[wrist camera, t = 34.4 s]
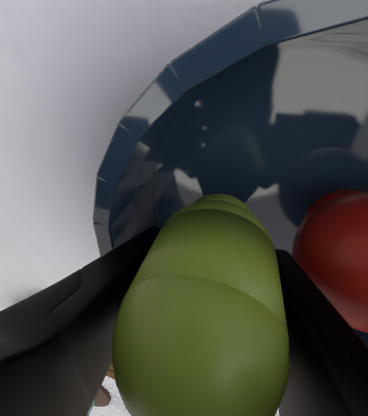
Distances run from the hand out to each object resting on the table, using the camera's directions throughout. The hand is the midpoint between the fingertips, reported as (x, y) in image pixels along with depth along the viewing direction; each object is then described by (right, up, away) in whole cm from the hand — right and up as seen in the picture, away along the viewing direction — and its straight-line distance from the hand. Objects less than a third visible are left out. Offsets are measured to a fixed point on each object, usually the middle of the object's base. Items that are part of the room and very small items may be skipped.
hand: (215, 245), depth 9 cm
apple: (+6, +1, +2) cm, 6 cm away
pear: (0, +1, +1) cm, 2 cm away
